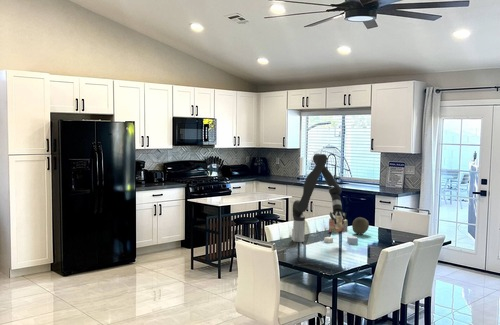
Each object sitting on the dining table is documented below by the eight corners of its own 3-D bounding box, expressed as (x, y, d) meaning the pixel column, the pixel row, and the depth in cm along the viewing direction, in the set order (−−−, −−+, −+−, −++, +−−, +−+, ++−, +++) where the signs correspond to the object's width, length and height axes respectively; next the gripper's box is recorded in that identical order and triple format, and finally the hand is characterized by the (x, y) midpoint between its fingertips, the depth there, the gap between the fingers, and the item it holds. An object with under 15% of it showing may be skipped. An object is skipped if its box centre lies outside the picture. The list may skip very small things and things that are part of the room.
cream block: (324, 241, 389) (324, 237, 389) (328, 241, 392) (328, 236, 392) (328, 242, 385) (328, 238, 385) (332, 242, 388) (333, 238, 388)
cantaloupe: (360, 236, 413) (361, 219, 412) (348, 233, 424) (349, 216, 424) (371, 235, 420) (372, 218, 419) (359, 232, 432) (360, 215, 431)
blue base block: (348, 244, 383) (349, 238, 382) (347, 242, 390) (347, 236, 389) (357, 244, 383) (357, 238, 382) (355, 242, 390) (356, 236, 389)
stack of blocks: (341, 228, 446) (342, 215, 445) (347, 229, 441) (348, 216, 441) (328, 231, 430) (329, 218, 430) (334, 232, 426) (334, 219, 425)
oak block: (336, 228, 378) (336, 216, 377) (335, 227, 382) (335, 215, 382) (341, 229, 378) (342, 216, 377) (340, 228, 382) (341, 215, 382)
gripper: (329, 203, 387) (330, 220, 375) (346, 204, 387) (349, 221, 375) (327, 208, 392) (329, 226, 381) (345, 209, 392) (347, 226, 381)
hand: (339, 223), depth 378 cm, fingers closed on oak block, 4 cm apart
